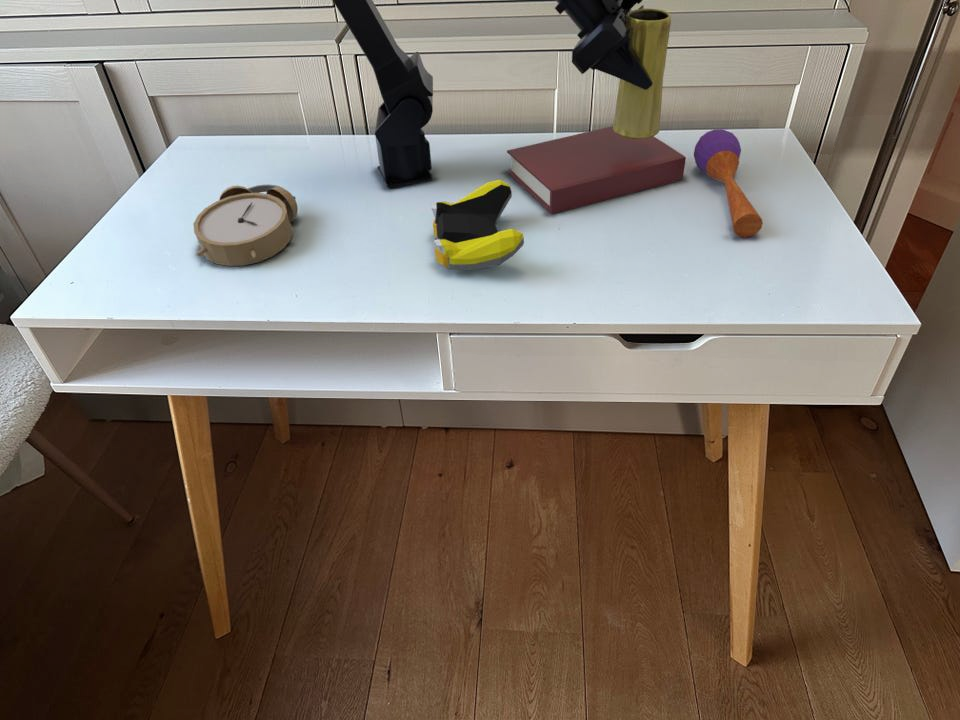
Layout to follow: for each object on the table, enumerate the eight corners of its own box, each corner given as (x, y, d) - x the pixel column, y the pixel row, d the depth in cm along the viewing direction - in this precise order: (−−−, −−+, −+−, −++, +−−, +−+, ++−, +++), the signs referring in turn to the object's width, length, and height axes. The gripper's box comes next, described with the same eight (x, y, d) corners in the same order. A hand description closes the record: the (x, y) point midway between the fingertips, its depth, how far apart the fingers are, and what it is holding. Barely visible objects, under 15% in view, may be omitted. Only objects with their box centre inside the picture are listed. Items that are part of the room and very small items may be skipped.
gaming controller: (510, 213, 92) (432, 220, 92) (509, 174, 89) (428, 180, 88) (526, 279, 81) (437, 287, 80) (526, 237, 77) (433, 244, 77)
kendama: (721, 209, 83) (689, 126, 97) (721, 250, 87) (690, 164, 101) (775, 199, 82) (735, 117, 96) (773, 241, 86) (734, 156, 100)
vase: (648, 143, 92) (663, 24, 82) (604, 134, 94) (614, 18, 85) (666, 126, 96) (682, 11, 86) (623, 117, 98) (634, 4, 89)
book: (551, 214, 92) (552, 190, 90) (507, 172, 101) (506, 150, 99) (682, 179, 97) (686, 157, 95) (629, 143, 107) (631, 121, 104)
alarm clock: (176, 244, 84) (222, 167, 93) (192, 275, 88) (235, 197, 97) (266, 249, 82) (305, 169, 92) (279, 280, 86) (314, 200, 96)
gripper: (608, -58, 74) (700, 60, 78) (635, -91, 87) (713, 11, 92) (533, 19, 81) (621, 123, 85) (568, -22, 94) (643, 70, 99)
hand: (652, 79), depth 90 cm, fingers closed on vase, 5 cm apart
